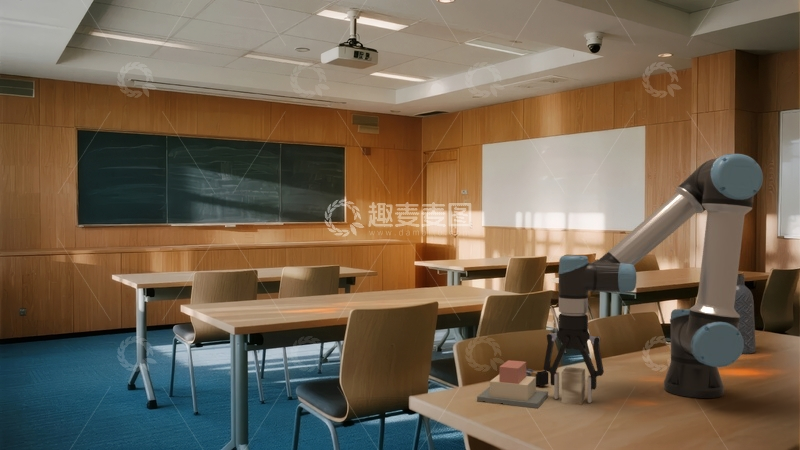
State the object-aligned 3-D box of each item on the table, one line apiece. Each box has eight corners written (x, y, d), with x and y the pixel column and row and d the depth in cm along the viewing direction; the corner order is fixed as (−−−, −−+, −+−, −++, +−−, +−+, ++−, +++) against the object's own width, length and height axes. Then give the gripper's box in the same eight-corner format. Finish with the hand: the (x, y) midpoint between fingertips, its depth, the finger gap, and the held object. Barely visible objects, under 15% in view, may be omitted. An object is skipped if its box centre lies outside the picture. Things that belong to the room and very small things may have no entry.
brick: (585, 398, 170) (585, 368, 170) (581, 404, 164) (581, 374, 164) (566, 396, 172) (566, 366, 172) (561, 402, 166) (561, 372, 166)
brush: (514, 361, 195) (552, 370, 183) (514, 376, 195) (552, 386, 183) (501, 364, 192) (539, 373, 180) (501, 379, 192) (539, 389, 180)
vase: (762, 354, 229) (762, 276, 229) (728, 354, 229) (728, 276, 229) (744, 348, 241) (744, 273, 241) (712, 348, 241) (712, 273, 241)
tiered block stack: (548, 396, 172) (548, 362, 172) (537, 408, 160) (537, 372, 160) (491, 389, 179) (491, 357, 179) (477, 401, 167) (477, 366, 167)
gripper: (615, 314, 167) (615, 400, 167) (537, 309, 176) (537, 391, 176) (612, 317, 160) (612, 407, 160) (531, 313, 169) (531, 398, 169)
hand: (573, 399), depth 168 cm, fingers open, 8 cm apart
